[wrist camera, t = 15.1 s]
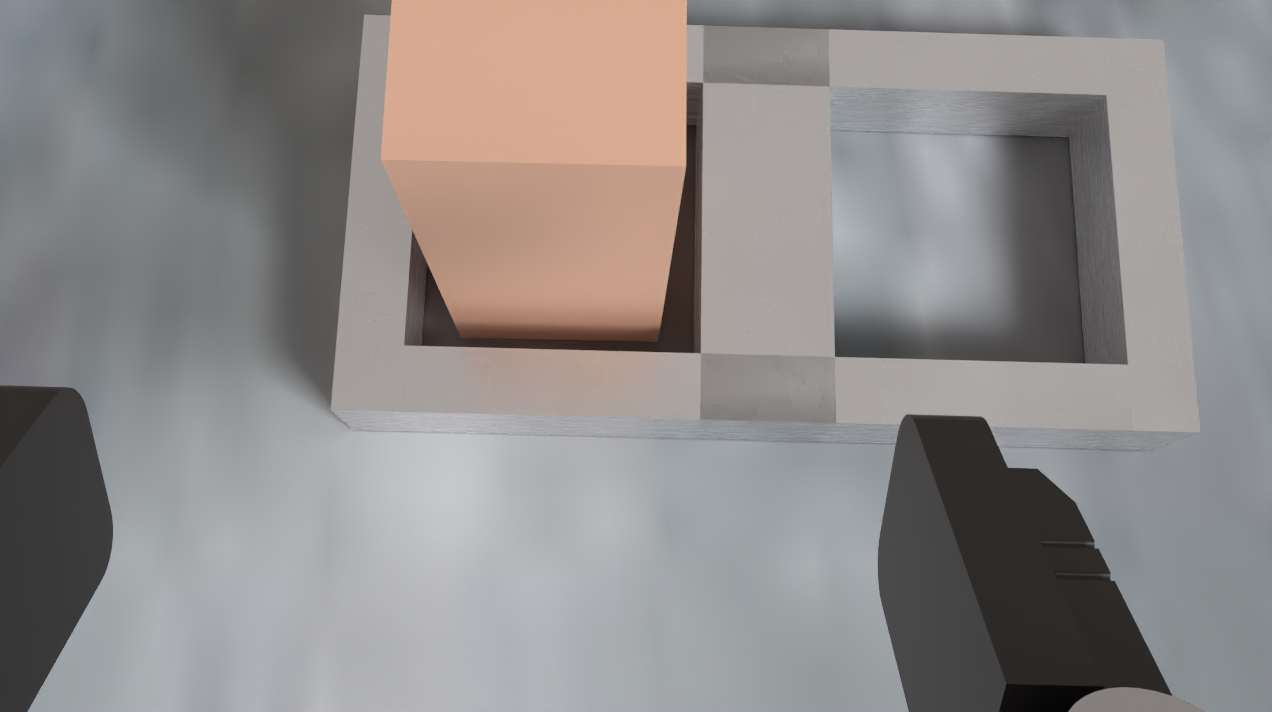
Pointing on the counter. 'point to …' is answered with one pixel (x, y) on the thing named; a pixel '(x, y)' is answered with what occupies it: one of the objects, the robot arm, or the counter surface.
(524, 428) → the grey flat frame
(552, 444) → the counter surface
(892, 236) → the counter surface
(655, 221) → the peg
